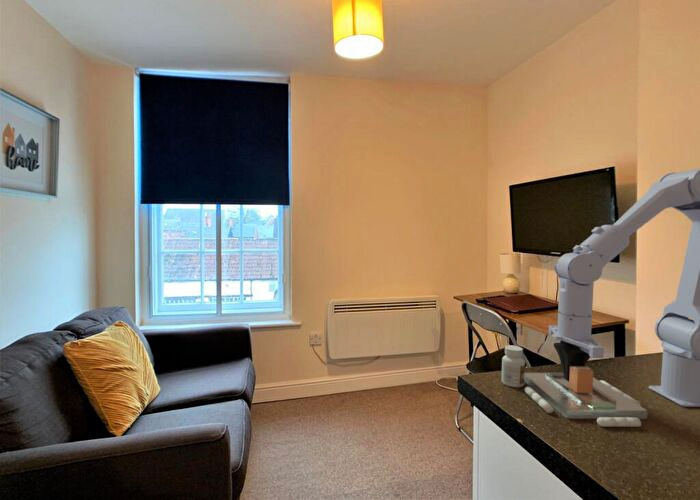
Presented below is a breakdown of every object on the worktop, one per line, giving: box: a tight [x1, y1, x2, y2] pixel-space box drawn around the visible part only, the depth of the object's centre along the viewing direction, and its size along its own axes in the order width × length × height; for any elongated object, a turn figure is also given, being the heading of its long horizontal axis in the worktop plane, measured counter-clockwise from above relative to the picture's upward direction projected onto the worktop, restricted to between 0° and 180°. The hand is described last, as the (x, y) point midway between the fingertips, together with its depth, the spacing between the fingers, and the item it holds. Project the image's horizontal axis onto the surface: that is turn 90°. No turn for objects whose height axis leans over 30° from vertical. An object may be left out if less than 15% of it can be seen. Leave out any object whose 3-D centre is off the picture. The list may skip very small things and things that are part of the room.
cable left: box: [596, 417, 642, 428], centre depth 60 cm, size 7×1×1 cm, turn 90°
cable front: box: [524, 386, 555, 414], centre depth 69 cm, size 1×8×1 cm, turn 0°
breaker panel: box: [524, 371, 648, 420], centre depth 71 cm, size 14×16×2 cm
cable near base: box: [599, 379, 642, 407], centre depth 71 cm, size 1×10×1 cm, turn 0°
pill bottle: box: [500, 344, 526, 388], centre depth 76 cm, size 4×4×8 cm
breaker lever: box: [569, 365, 594, 393], centre depth 70 cm, size 3×2×4 cm
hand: (571, 380), depth 73 cm, fingers closed
